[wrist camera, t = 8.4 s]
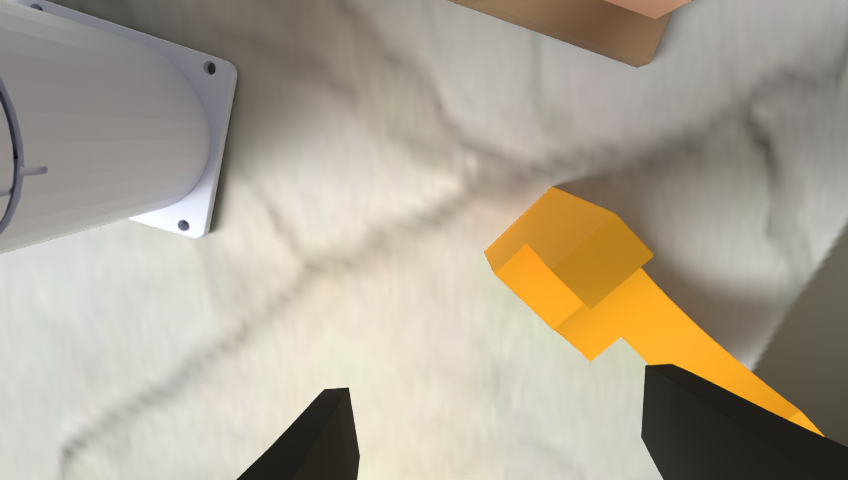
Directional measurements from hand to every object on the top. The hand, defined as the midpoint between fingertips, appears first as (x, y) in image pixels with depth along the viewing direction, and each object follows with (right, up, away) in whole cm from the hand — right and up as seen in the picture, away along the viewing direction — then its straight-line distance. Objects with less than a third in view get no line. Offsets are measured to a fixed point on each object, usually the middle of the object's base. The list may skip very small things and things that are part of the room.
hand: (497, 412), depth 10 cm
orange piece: (+7, +1, +10) cm, 12 cm away
